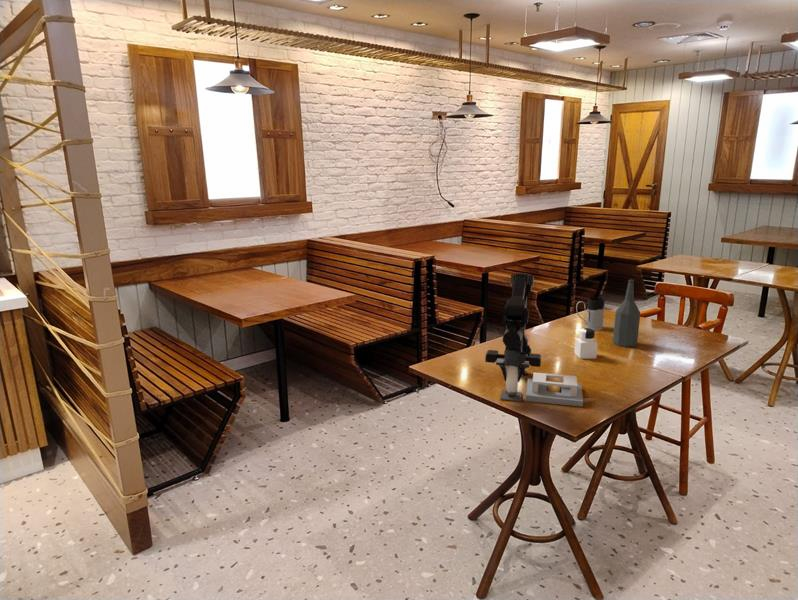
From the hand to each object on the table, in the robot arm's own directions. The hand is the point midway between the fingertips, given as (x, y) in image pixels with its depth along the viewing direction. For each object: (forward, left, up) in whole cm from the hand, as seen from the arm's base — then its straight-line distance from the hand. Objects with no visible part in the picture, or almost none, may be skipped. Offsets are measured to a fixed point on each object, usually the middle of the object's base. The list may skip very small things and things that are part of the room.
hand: (512, 381), depth 192 cm
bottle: (-50, +70, -6) cm, 86 cm away
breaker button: (0, +16, -6) cm, 17 cm away
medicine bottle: (-37, +45, -6) cm, 58 cm away
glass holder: (-76, +65, -6) cm, 100 cm away
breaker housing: (0, +16, -6) cm, 17 cm away
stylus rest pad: (0, 0, -6) cm, 6 cm away
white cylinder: (0, 0, -4) cm, 4 cm away
